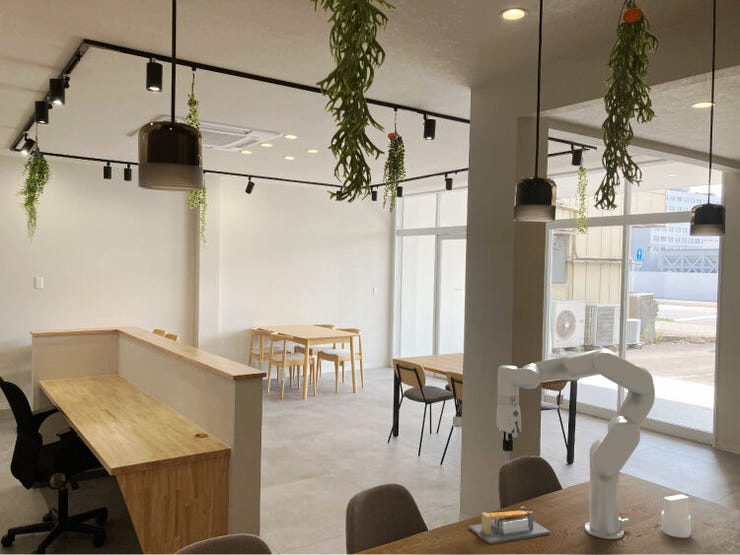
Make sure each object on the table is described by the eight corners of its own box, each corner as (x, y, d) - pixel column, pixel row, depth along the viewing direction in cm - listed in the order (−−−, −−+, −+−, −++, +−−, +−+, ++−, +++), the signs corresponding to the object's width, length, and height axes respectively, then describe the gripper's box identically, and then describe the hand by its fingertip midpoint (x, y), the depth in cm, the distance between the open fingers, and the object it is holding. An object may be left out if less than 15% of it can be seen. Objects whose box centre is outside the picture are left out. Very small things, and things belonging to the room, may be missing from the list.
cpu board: (527, 519, 216) (527, 500, 216) (550, 534, 203) (550, 513, 203) (469, 528, 207) (469, 508, 207) (489, 544, 195) (489, 523, 195)
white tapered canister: (674, 525, 212) (675, 491, 212) (696, 535, 204) (697, 500, 204) (655, 528, 209) (655, 494, 209) (677, 539, 201) (677, 503, 201)
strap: (525, 513, 209) (525, 509, 209) (530, 516, 207) (530, 512, 207) (486, 516, 204) (487, 512, 204) (491, 519, 201) (491, 515, 201)
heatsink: (514, 521, 211) (514, 510, 211) (529, 531, 203) (529, 520, 203) (489, 525, 208) (489, 513, 208) (504, 535, 199) (504, 523, 200)
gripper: (529, 403, 210) (528, 455, 210) (505, 395, 224) (505, 444, 224) (510, 404, 207) (510, 457, 207) (488, 396, 222) (487, 446, 221)
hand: (507, 450), depth 216 cm, fingers closed
